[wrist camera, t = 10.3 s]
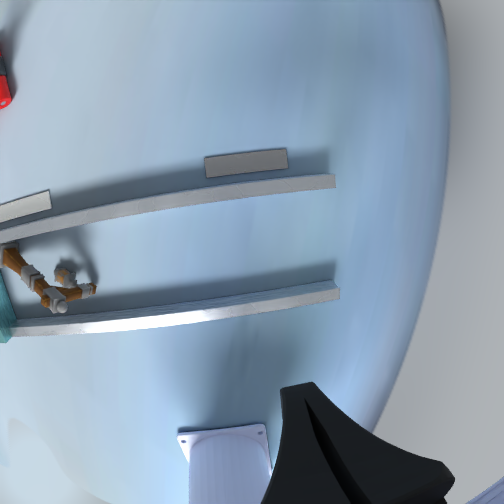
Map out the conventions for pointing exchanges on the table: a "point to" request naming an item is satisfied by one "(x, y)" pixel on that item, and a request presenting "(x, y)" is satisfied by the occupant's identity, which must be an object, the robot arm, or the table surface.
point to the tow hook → (4, 86)
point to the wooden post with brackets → (50, 295)
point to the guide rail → (3, 317)
